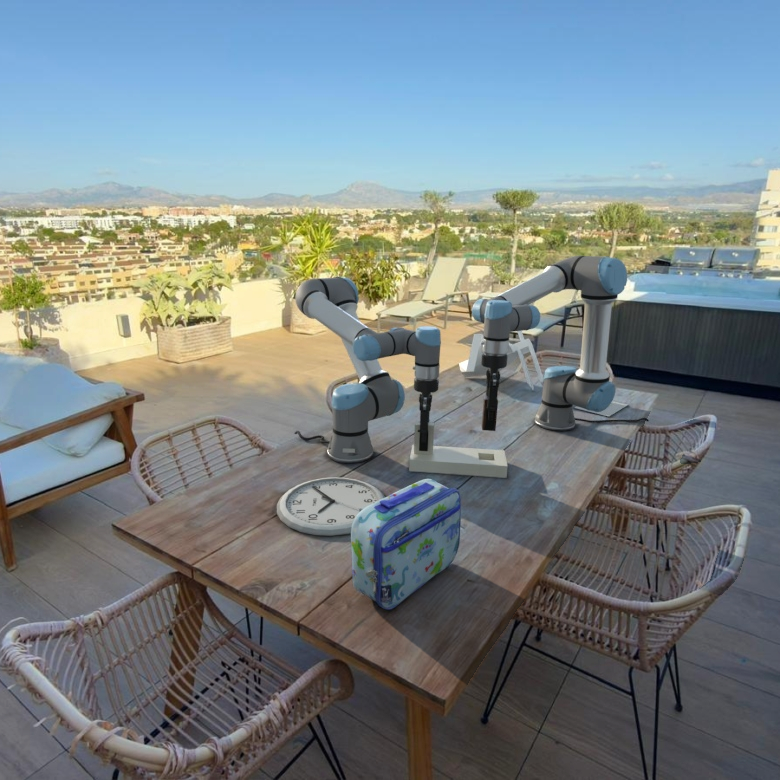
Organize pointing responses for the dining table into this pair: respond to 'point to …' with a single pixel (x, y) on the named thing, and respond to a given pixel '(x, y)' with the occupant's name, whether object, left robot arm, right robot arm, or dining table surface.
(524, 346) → the white plastic object
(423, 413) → the left robot arm
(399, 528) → the lunch box
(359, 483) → the wall clock
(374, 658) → the dining table surface
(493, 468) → the peg board
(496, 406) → the peg
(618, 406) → the invitation card
